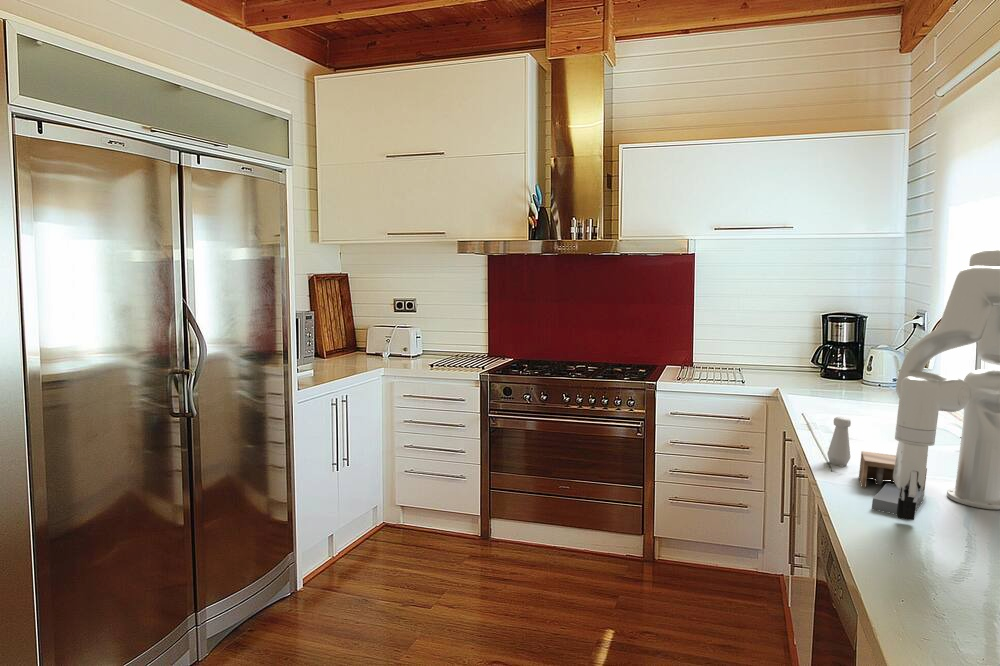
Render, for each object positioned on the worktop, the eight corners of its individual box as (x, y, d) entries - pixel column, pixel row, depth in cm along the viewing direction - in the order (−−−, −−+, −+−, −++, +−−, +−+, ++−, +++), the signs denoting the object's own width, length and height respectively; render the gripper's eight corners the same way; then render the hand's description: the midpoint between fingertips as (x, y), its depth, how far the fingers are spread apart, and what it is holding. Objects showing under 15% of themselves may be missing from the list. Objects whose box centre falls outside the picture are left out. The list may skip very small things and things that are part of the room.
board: (885, 494, 187) (887, 482, 187) (922, 502, 182) (924, 490, 182) (871, 511, 174) (872, 498, 174) (910, 520, 169) (912, 506, 169)
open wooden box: (858, 476, 200) (861, 451, 199) (917, 484, 195) (920, 458, 194) (861, 487, 190) (864, 460, 190) (923, 496, 186) (927, 468, 185)
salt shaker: (850, 468, 207) (855, 421, 206) (827, 465, 209) (832, 418, 208) (848, 462, 213) (852, 416, 211) (825, 459, 215) (830, 414, 213)
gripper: (891, 425, 172) (882, 505, 174) (899, 439, 158) (889, 525, 160) (929, 430, 169) (919, 510, 171) (941, 445, 155) (930, 532, 157)
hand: (905, 517), depth 166 cm, fingers closed
